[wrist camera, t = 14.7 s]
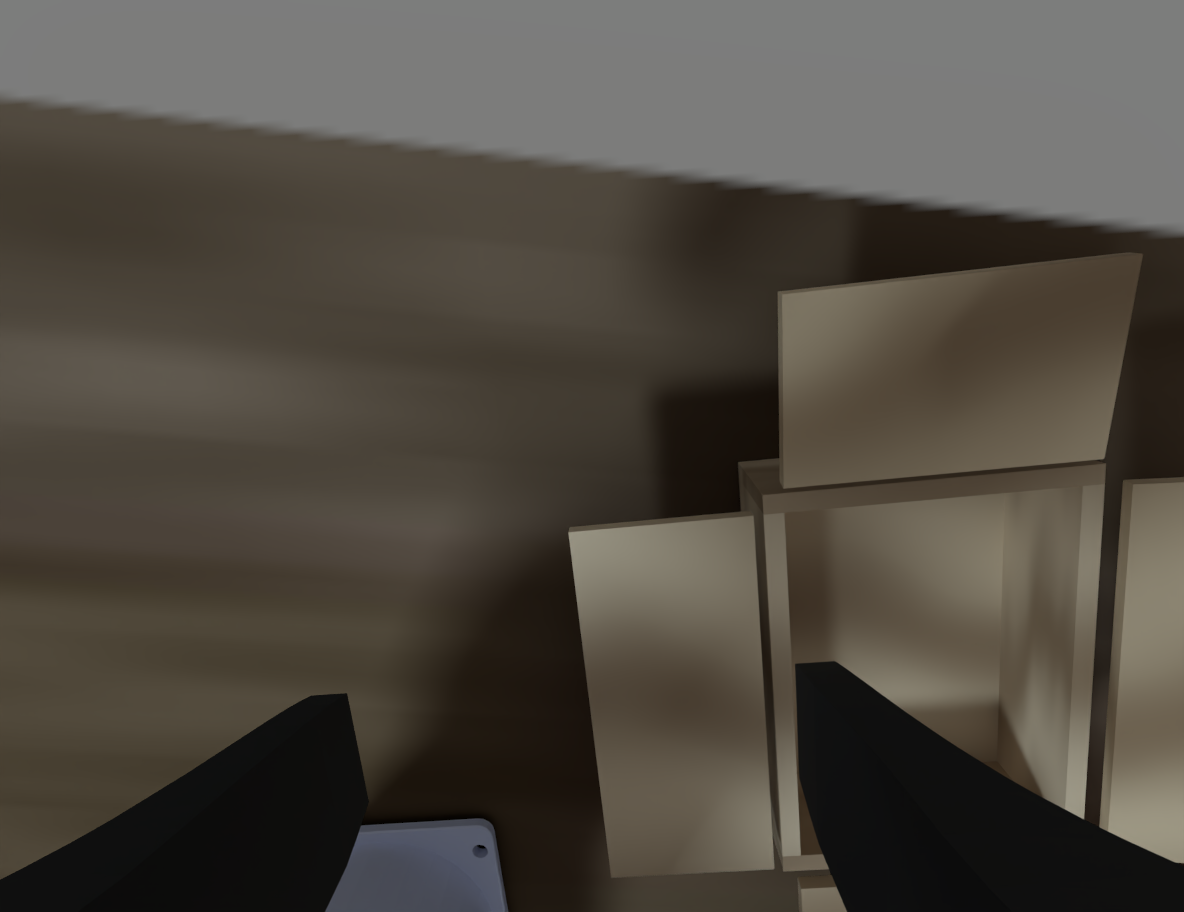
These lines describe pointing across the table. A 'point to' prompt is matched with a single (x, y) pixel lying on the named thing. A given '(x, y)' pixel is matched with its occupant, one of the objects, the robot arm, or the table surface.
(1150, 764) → the flap
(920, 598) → the carton
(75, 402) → the table surface
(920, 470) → the flap
